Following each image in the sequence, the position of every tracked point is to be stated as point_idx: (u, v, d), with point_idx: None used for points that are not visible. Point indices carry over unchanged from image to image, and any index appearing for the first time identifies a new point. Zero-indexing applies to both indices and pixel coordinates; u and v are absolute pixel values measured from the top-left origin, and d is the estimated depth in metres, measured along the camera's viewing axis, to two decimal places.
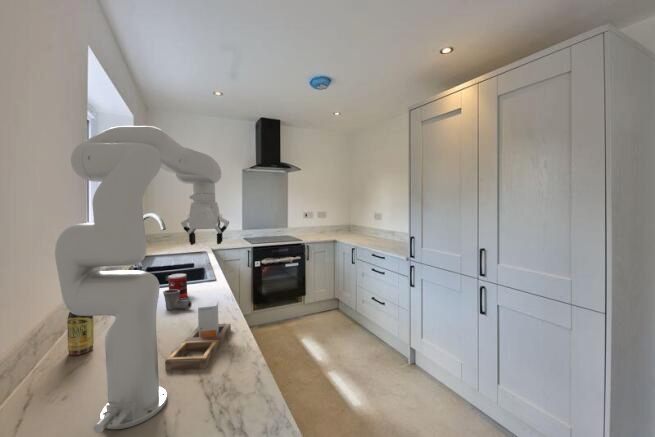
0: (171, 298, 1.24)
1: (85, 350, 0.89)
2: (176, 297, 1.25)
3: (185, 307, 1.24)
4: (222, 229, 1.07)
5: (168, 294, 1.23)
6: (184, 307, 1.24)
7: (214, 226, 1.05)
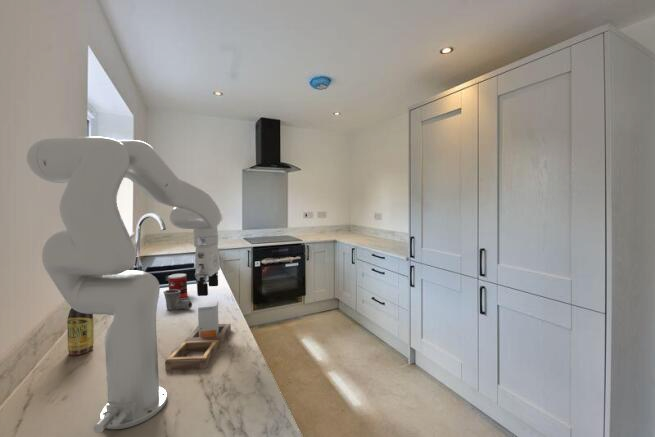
0: (172, 298, 1.24)
1: (85, 350, 0.89)
2: (177, 297, 1.25)
3: (186, 307, 1.24)
4: None
5: (169, 294, 1.23)
6: (185, 307, 1.24)
7: (219, 267, 1.01)
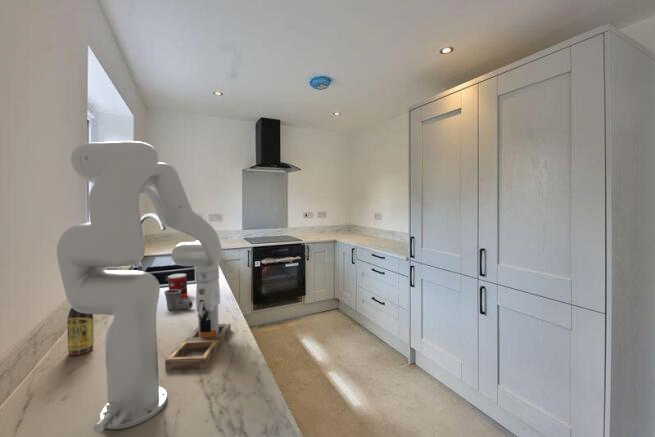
0: (172, 298, 1.24)
1: (85, 350, 0.89)
2: (177, 297, 1.25)
3: (186, 307, 1.23)
4: None
5: (169, 294, 1.23)
6: (185, 307, 1.24)
7: None
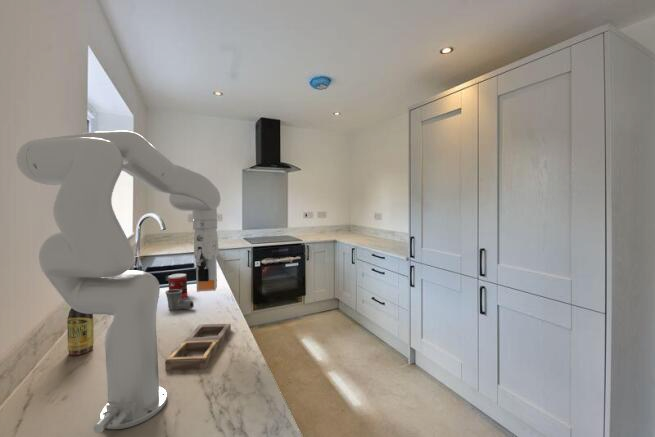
0: (173, 298, 1.24)
1: (85, 350, 0.89)
2: (178, 297, 1.25)
3: (187, 307, 1.23)
4: None
5: (170, 294, 1.23)
6: (186, 307, 1.24)
7: (218, 253, 1.01)
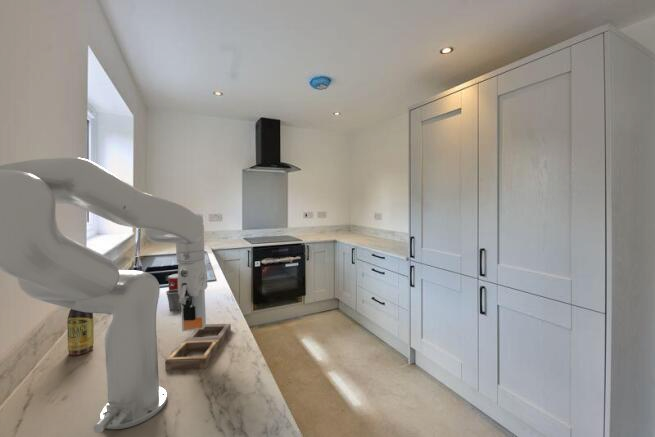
0: (174, 298, 1.24)
1: (85, 350, 0.89)
2: (179, 297, 1.25)
3: None
4: None
5: (171, 294, 1.23)
6: None
7: None
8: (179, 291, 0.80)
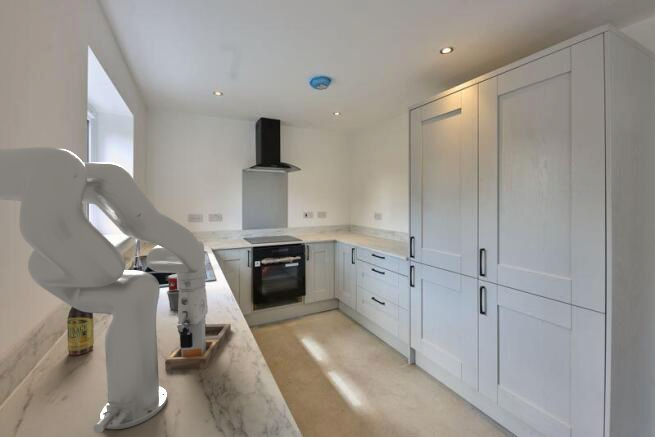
0: (175, 298, 1.24)
1: (85, 350, 0.89)
2: None
3: None
4: None
5: (172, 294, 1.23)
6: None
7: (207, 311, 0.90)
8: (179, 319, 0.81)
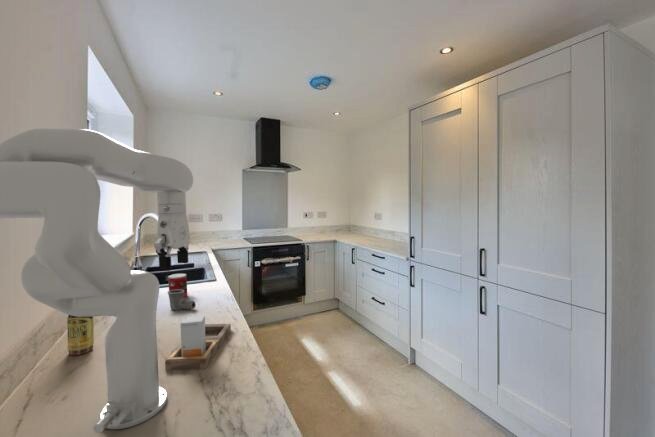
0: (175, 298, 1.24)
1: (85, 350, 0.89)
2: (180, 297, 1.25)
3: (189, 307, 1.23)
4: (187, 245, 0.93)
5: (172, 294, 1.23)
6: (188, 307, 1.23)
7: (189, 242, 0.91)
8: None
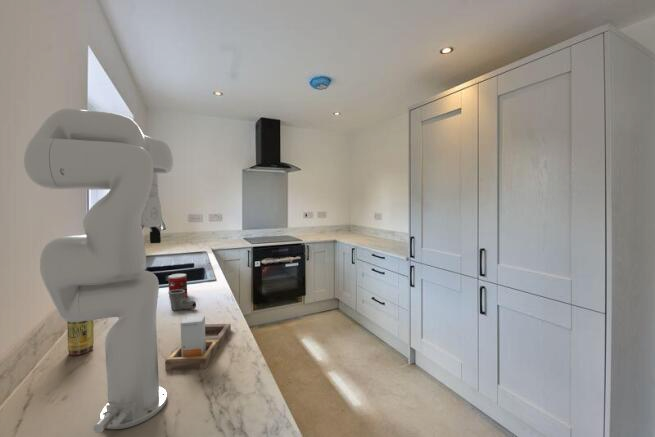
0: (176, 298, 1.24)
1: (85, 350, 0.89)
2: (181, 297, 1.25)
3: (190, 307, 1.23)
4: (159, 226, 0.97)
5: (173, 294, 1.23)
6: (189, 307, 1.23)
7: (161, 222, 0.94)
8: None
